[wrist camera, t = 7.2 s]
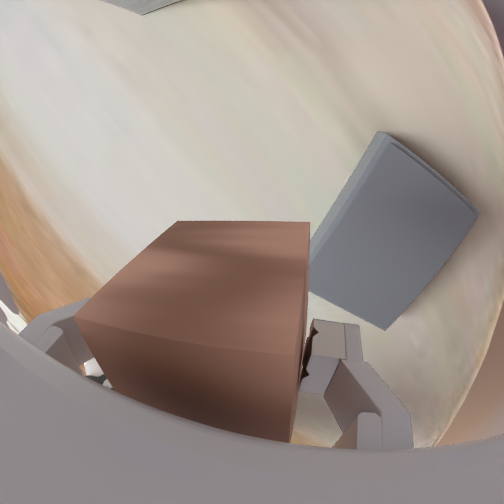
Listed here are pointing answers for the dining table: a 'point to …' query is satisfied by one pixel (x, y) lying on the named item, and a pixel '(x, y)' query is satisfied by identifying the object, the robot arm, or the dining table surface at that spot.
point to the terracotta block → (209, 324)
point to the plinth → (387, 234)
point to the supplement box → (141, 5)
